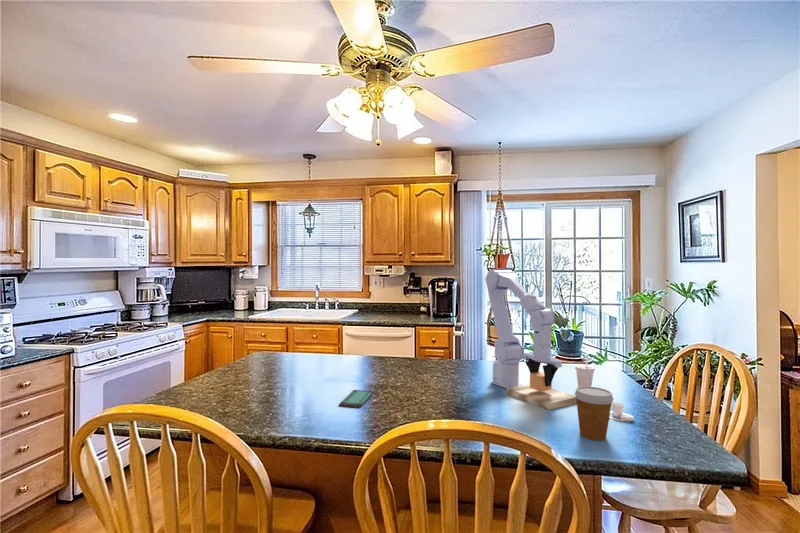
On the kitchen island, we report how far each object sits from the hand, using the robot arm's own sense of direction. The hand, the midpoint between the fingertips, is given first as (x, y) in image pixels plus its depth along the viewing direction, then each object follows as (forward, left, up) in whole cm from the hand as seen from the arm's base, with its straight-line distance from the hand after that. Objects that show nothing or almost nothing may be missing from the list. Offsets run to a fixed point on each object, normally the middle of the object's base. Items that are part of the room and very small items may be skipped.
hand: (541, 383), depth 141 cm
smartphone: (-28, -56, -6) cm, 63 cm away
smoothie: (+4, +18, -5) cm, 19 cm away
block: (0, 0, -2) cm, 2 cm away
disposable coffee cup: (+28, -13, -5) cm, 31 cm away
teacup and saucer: (+24, +4, -6) cm, 25 cm away
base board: (0, 0, -5) cm, 5 cm away
